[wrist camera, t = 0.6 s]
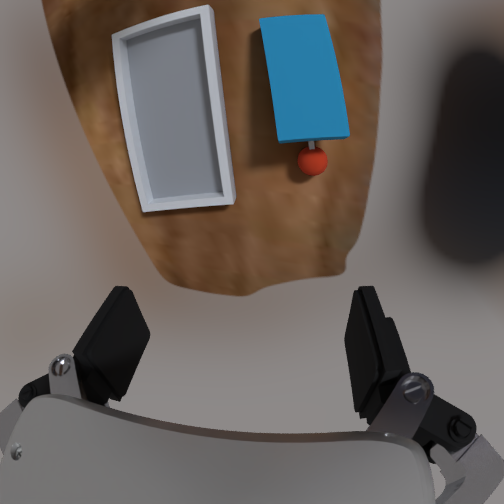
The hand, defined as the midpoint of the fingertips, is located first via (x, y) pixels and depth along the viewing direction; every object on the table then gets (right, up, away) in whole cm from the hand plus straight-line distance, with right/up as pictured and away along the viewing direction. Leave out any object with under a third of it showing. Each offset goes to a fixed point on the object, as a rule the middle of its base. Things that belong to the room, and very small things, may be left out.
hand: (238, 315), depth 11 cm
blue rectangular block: (+6, +20, +16) cm, 26 cm away
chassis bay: (-9, +19, +17) cm, 27 cm away
